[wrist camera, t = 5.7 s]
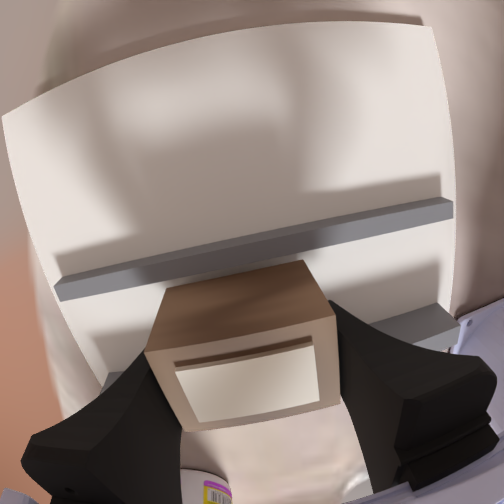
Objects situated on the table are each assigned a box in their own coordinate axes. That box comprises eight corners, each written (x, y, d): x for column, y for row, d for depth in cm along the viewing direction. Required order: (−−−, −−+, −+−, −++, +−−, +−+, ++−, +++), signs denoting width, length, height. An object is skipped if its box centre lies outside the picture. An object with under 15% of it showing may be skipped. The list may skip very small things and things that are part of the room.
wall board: (424, 29, 11) (470, 12, 7) (439, 334, 17) (470, 369, 13) (8, 116, 11) (-41, 119, 7) (118, 403, 17) (105, 447, 13)
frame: (303, 259, 12) (337, 318, 8) (313, 336, 14) (342, 407, 10) (166, 288, 12) (142, 356, 8) (192, 360, 14) (185, 436, 10)
